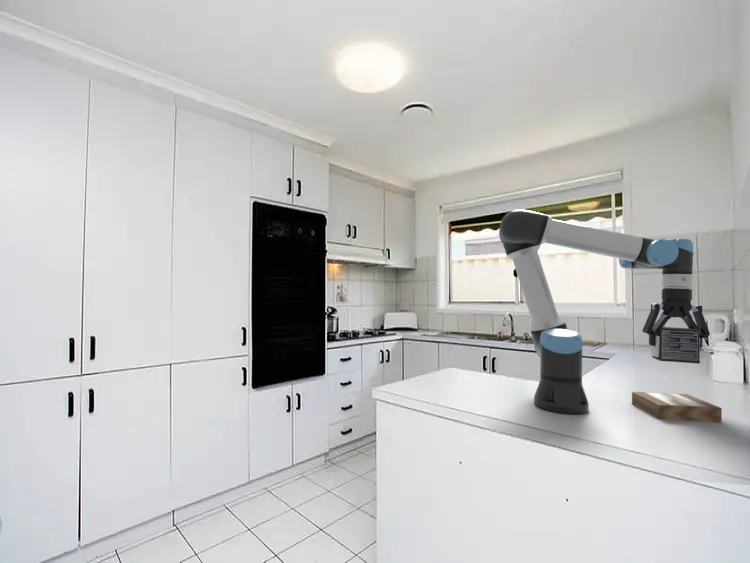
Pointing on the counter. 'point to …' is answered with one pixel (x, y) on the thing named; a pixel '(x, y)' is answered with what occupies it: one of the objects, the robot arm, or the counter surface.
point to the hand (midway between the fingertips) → (674, 357)
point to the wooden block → (676, 407)
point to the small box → (679, 345)
